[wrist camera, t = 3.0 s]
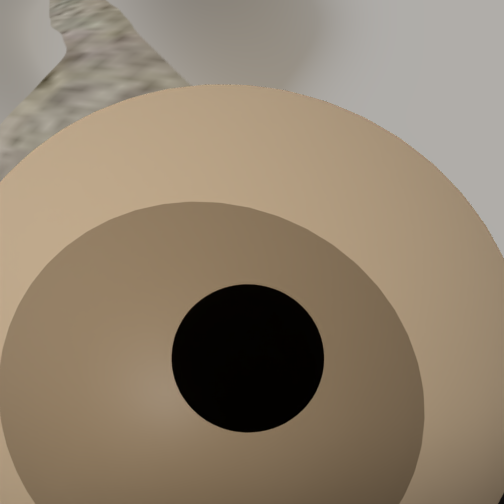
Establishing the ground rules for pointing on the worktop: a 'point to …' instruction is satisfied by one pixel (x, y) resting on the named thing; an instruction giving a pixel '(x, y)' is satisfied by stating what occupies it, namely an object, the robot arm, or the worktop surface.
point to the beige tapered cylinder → (245, 312)
